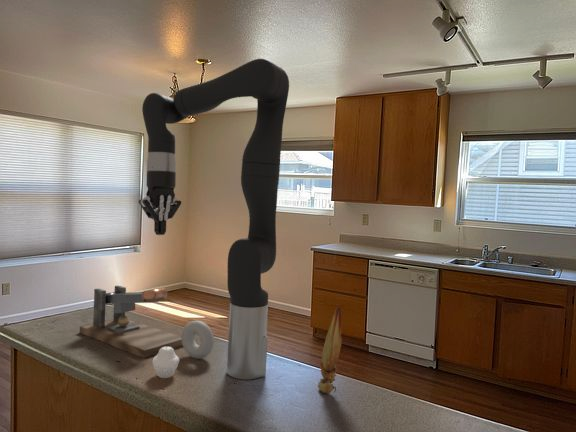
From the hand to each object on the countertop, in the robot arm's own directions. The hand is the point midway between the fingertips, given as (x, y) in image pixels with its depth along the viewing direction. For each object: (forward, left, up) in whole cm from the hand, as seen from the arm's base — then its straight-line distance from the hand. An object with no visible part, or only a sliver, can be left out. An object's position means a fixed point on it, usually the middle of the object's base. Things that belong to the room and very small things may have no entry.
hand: (160, 234), depth 121 cm
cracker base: (+8, -9, -32) cm, 34 cm away
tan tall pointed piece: (-40, +30, -32) cm, 59 cm away
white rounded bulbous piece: (-4, +18, -32) cm, 37 cm away
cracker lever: (+8, -9, -23) cm, 26 cm away
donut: (-11, +7, -32) cm, 34 cm away
